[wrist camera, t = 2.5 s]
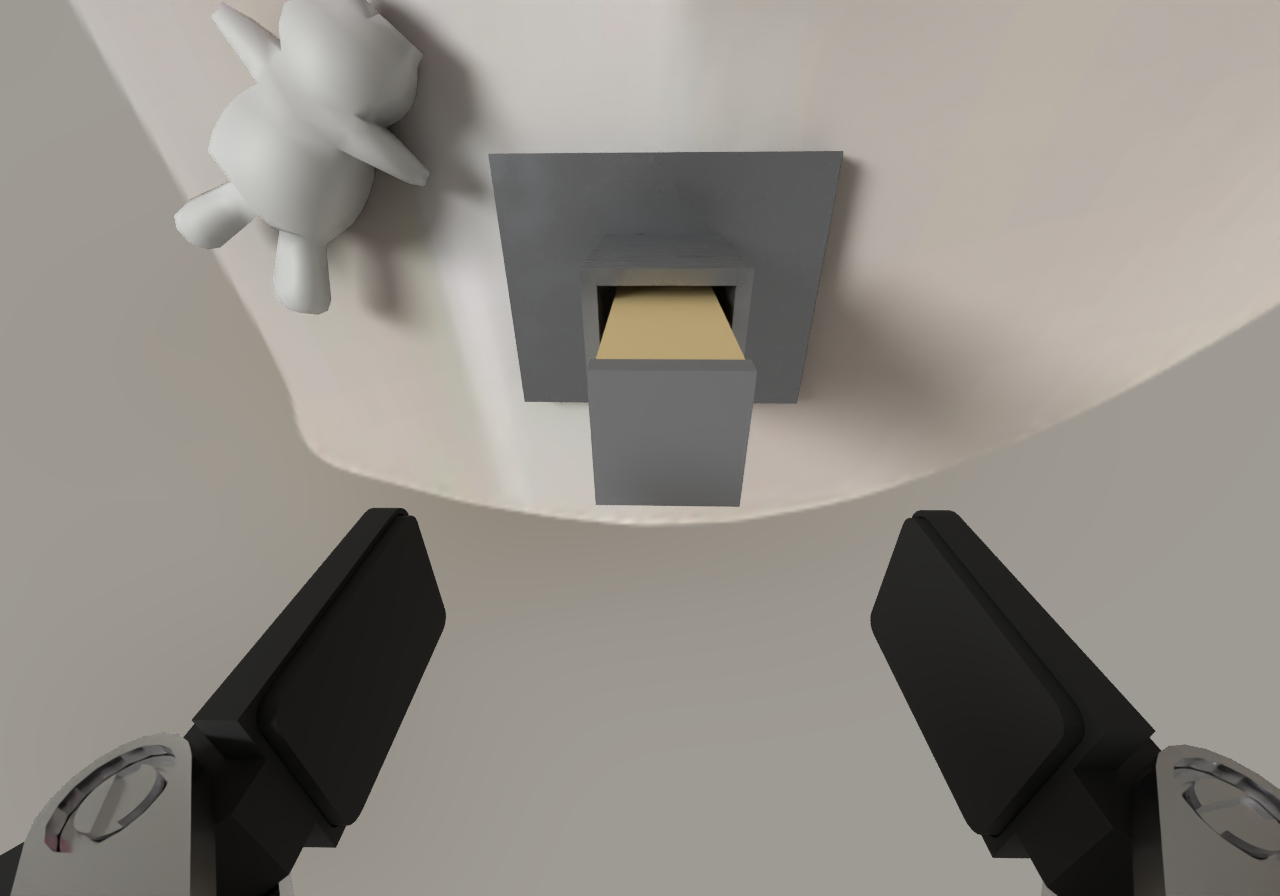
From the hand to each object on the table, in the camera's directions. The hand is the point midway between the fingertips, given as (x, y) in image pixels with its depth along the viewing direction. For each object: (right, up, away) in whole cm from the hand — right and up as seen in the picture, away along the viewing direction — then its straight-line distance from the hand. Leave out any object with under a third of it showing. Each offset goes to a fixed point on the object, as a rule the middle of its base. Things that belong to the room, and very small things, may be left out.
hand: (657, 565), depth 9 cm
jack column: (+1, +11, +18) cm, 21 cm away
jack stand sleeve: (+1, +12, +19) cm, 23 cm away
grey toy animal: (-17, +18, +17) cm, 30 cm away
